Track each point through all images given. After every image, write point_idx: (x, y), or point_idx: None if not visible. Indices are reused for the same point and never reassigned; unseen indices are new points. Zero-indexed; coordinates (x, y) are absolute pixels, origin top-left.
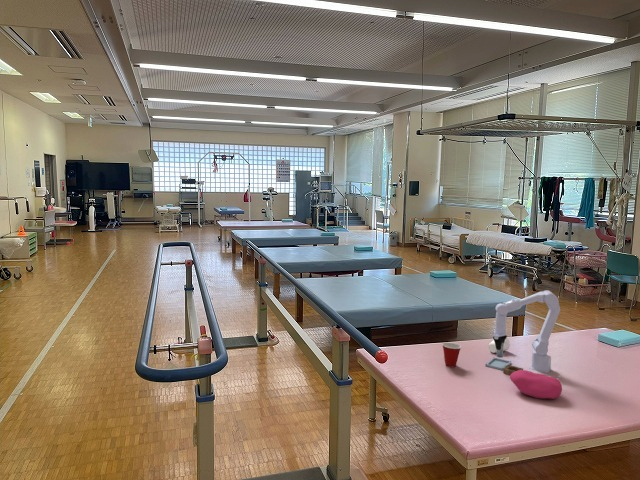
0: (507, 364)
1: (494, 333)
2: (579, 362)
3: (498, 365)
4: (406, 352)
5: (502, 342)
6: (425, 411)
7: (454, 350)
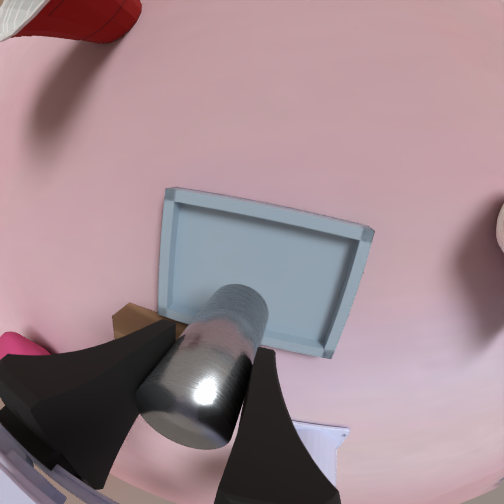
0: None
1: (2, 465)
2: (416, 487)
3: (233, 275)
4: None
5: (219, 444)
6: None
7: (10, 29)
